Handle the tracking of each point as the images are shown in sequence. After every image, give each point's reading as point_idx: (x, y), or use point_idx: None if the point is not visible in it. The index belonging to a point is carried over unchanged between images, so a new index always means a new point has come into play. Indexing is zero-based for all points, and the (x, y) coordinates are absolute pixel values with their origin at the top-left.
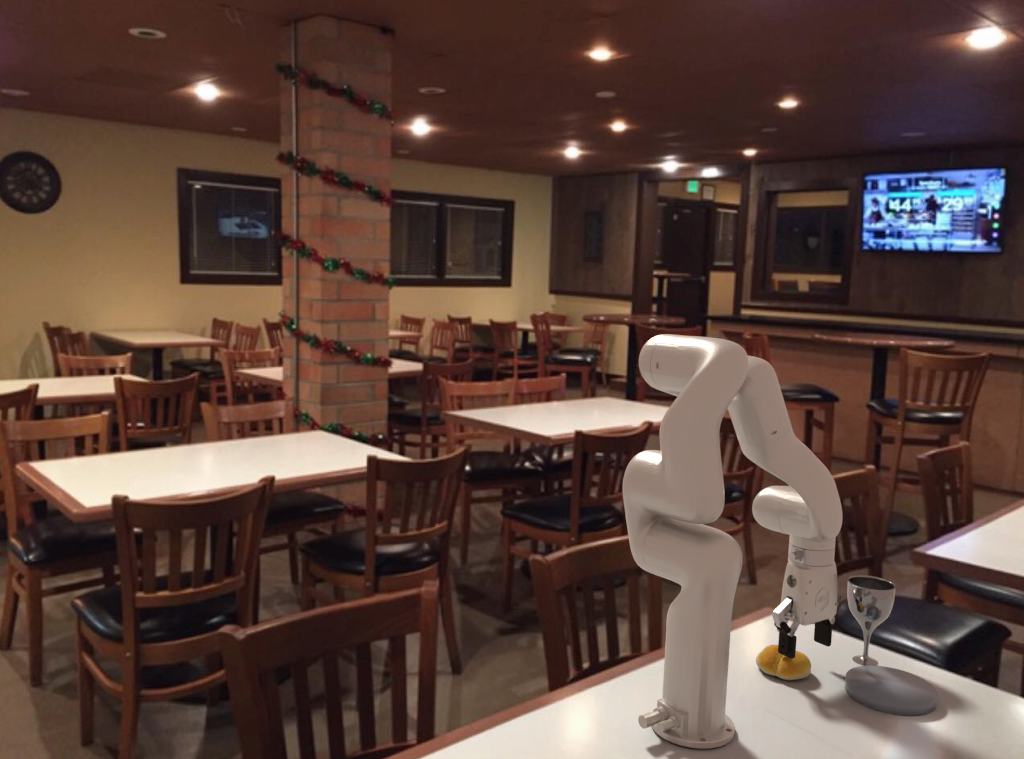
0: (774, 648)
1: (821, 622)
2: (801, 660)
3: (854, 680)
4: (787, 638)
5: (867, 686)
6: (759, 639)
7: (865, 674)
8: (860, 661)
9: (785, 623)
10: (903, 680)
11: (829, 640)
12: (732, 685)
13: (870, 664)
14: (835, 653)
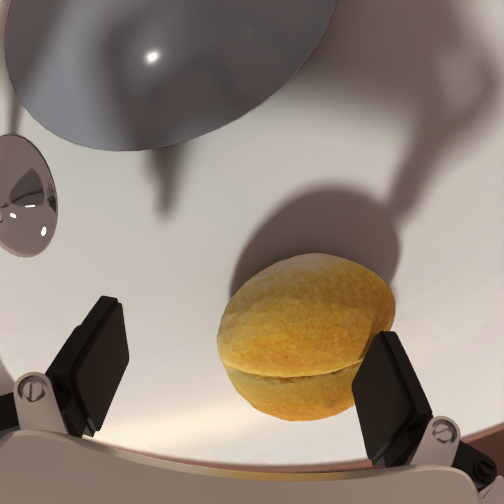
0: (337, 405)
1: (82, 413)
2: (340, 309)
3: (244, 70)
4: (430, 416)
5: (257, 5)
6: (162, 425)
7: (134, 79)
8: (22, 202)
9: (482, 480)
10: None
11: (103, 315)
12: (467, 346)
13: (13, 171)
14: (39, 285)
